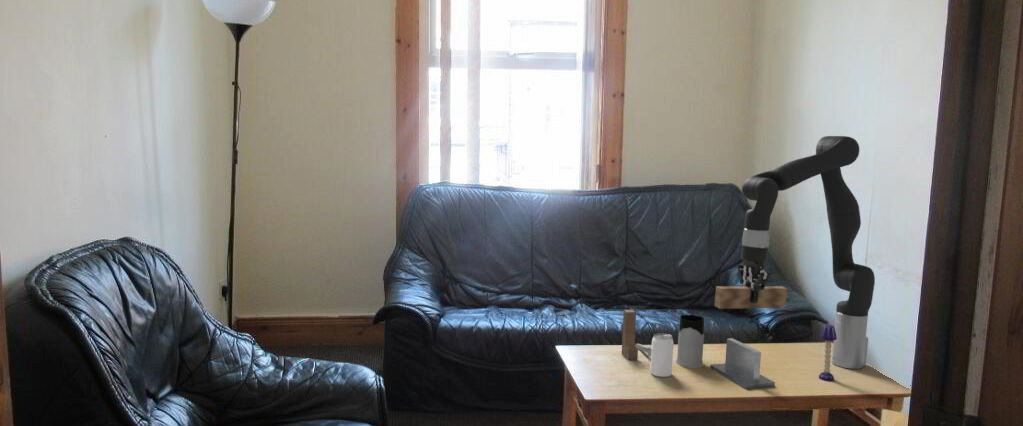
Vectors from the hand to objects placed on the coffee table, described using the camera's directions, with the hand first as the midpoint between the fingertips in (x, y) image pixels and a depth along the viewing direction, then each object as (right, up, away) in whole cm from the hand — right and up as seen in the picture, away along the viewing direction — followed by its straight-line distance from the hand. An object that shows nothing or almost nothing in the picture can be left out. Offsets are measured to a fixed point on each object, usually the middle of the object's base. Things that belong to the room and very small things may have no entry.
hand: (750, 300), depth 203 cm
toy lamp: (+24, -24, +4) cm, 35 cm away
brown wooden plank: (0, -2, 0) cm, 2 cm away
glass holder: (-13, -22, +17) cm, 31 cm away
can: (-26, -23, +4) cm, 35 cm away
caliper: (-27, -21, +21) cm, 41 cm away
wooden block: (-33, -21, +19) cm, 44 cm away
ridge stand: (-2, -24, +3) cm, 24 cm away
